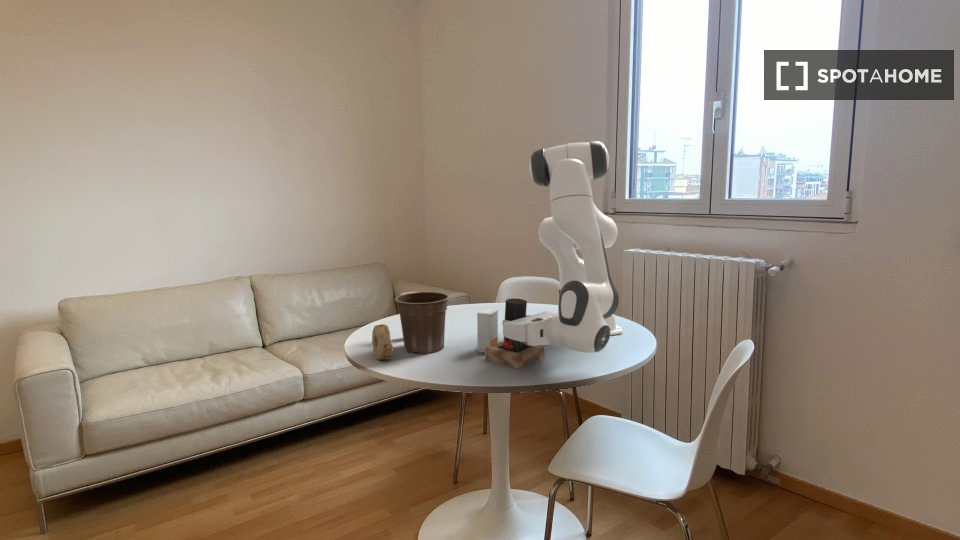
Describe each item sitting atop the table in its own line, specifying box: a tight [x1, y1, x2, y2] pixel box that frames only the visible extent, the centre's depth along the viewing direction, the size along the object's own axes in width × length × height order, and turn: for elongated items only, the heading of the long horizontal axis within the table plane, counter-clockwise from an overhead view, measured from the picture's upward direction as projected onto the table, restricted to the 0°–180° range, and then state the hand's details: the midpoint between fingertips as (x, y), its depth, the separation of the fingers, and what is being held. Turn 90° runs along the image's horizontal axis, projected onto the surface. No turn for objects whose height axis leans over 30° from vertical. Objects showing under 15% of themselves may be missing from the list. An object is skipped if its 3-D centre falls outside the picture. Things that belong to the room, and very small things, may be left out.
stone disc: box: [371, 323, 394, 361], centre depth 156 cm, size 10×4×10 cm, turn 29°
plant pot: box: [394, 291, 450, 355], centre depth 166 cm, size 16×16×16 cm
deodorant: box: [502, 298, 528, 353], centre depth 154 cm, size 6×6×15 cm
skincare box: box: [476, 308, 499, 353], centre depth 163 cm, size 6×4×12 cm
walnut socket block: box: [484, 341, 546, 369], centre depth 155 cm, size 12×12×4 cm
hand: (512, 320), depth 154 cm, fingers closed on deodorant, 6 cm apart
